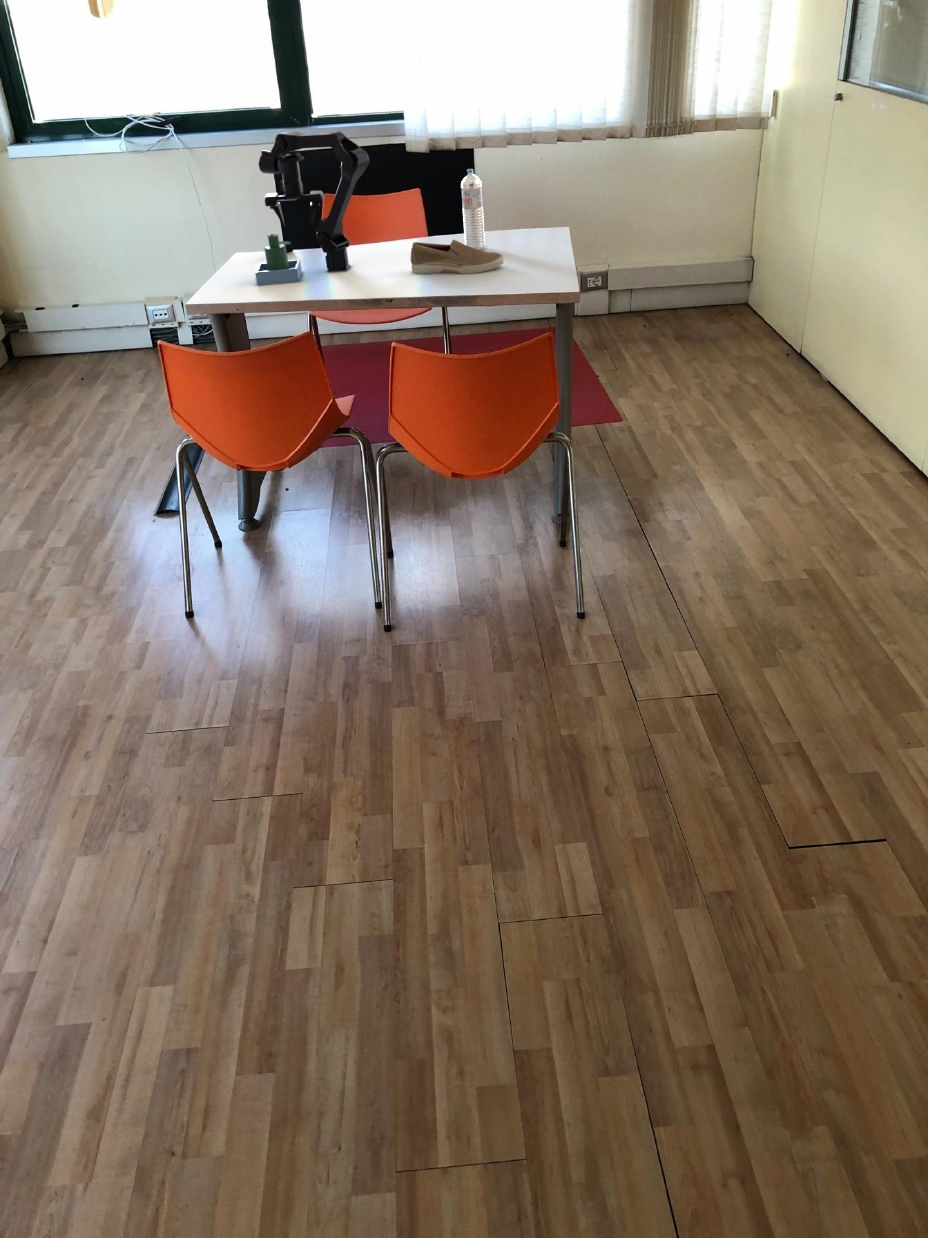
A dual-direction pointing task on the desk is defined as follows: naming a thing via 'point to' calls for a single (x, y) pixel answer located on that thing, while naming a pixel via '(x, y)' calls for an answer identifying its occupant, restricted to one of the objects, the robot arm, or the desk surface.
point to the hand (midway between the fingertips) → (297, 225)
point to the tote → (278, 274)
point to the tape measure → (287, 246)
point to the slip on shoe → (452, 258)
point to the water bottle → (473, 211)
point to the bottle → (276, 254)
